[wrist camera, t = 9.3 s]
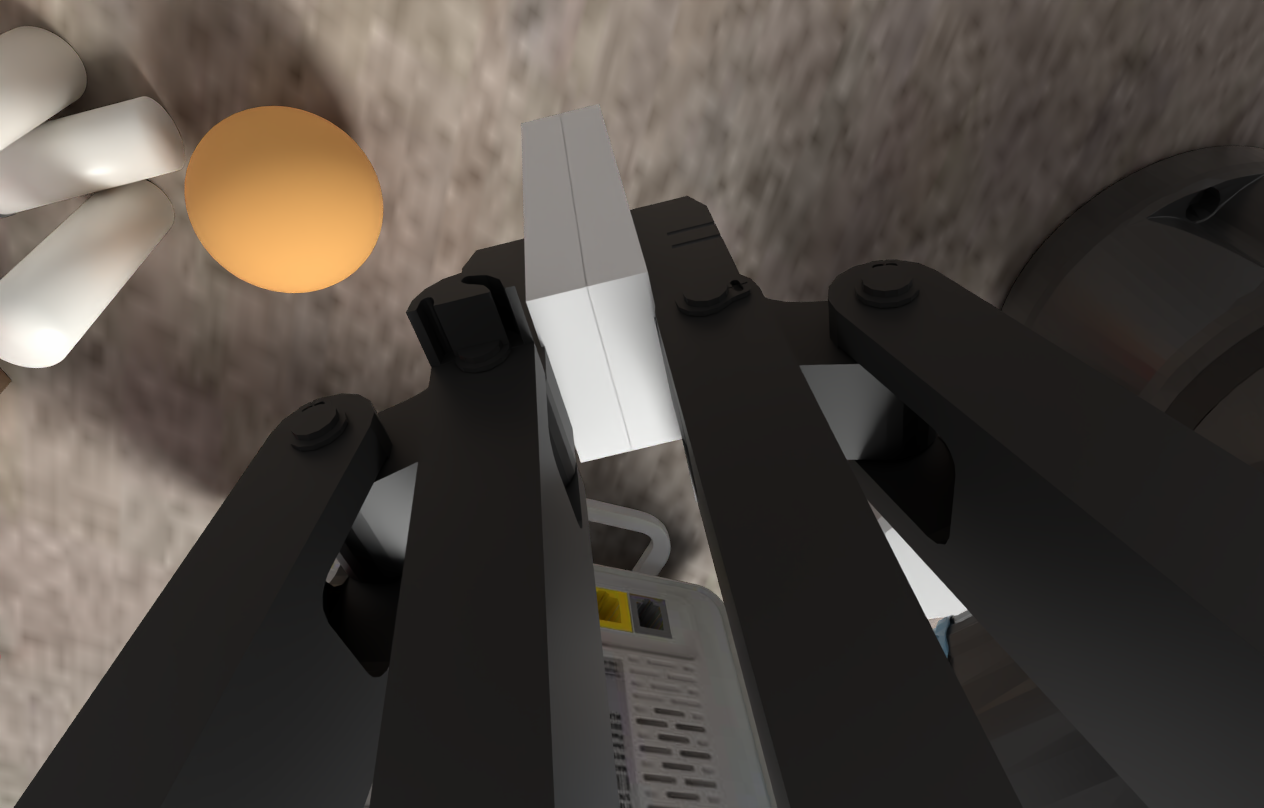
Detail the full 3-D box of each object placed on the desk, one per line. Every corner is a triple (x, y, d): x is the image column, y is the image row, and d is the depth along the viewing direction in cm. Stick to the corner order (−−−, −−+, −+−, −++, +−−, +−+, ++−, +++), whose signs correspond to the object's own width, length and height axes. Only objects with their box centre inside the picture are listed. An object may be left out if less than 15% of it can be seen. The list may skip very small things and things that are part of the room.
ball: (173, 225, 27) (261, 82, 27) (330, 315, 29) (413, 184, 29) (119, 227, 21) (231, 46, 21) (319, 338, 24) (420, 175, 24)
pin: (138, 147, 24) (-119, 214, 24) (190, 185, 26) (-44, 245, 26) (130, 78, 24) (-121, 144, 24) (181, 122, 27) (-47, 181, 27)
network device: (229, 545, 39) (37, 1041, 23) (255, 420, 34) (39, 932, 19) (670, 625, 48) (747, 1023, 32) (738, 533, 43) (866, 946, 27)
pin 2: (177, 189, 28) (70, 310, 21) (171, 246, 29) (68, 377, 22) (101, 165, 27) (-34, 283, 20) (99, 224, 28) (-30, 354, 21)
